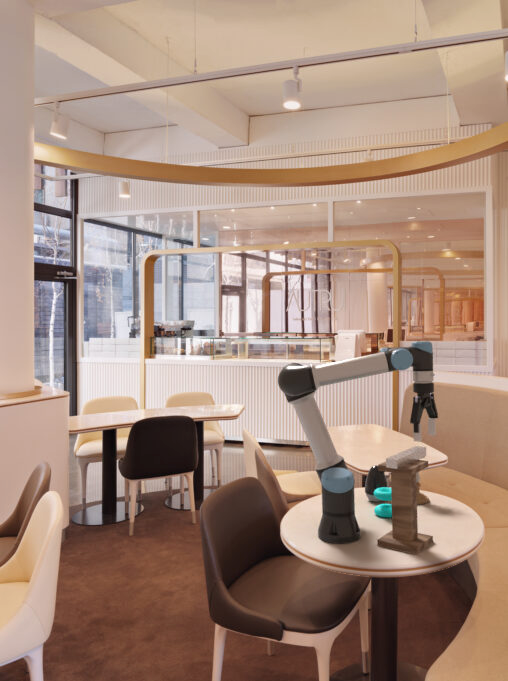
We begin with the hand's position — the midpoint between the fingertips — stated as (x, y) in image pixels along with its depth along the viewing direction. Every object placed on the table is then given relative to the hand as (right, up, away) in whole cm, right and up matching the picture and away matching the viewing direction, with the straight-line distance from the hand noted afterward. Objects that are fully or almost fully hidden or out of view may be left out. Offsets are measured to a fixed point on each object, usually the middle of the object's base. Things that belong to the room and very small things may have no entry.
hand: (425, 438), depth 216 cm
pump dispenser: (-11, -33, +32) cm, 47 cm away
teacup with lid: (-7, -32, +44) cm, 55 cm away
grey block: (-11, -5, -16) cm, 20 cm away
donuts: (-11, -33, +13) cm, 37 cm away
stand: (-12, -33, -18) cm, 40 cm away
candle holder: (+4, -32, +31) cm, 45 cm away
